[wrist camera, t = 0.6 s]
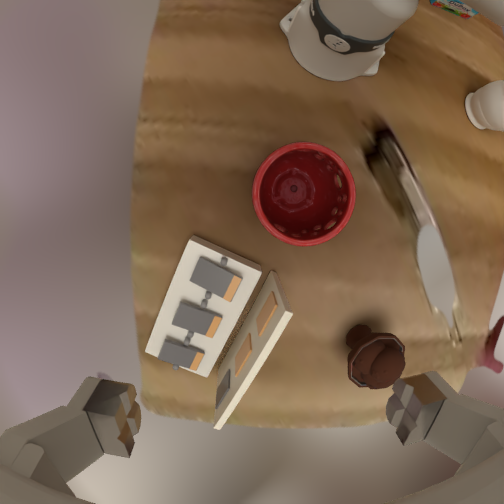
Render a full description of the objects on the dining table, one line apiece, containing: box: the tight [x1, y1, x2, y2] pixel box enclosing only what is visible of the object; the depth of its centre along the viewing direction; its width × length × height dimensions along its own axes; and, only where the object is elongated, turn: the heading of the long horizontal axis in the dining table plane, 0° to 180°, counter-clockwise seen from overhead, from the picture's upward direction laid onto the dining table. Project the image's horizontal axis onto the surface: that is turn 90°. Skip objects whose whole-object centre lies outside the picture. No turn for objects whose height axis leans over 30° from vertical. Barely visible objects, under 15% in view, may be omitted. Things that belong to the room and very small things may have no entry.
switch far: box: [158, 339, 205, 371], centre depth 46 cm, size 4×7×1 cm, turn 64°
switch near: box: [189, 257, 243, 302], centre depth 44 cm, size 4×7×1 cm, turn 64°
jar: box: [465, 80, 504, 131], centre depth 36 cm, size 11×10×15 cm
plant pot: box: [252, 142, 356, 246], centre depth 41 cm, size 13×13×12 cm
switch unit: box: [145, 235, 293, 430], centre depth 43 cm, size 22×15×16 cm
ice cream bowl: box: [346, 325, 405, 389], centre depth 46 cm, size 11×11×15 cm
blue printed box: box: [430, 0, 478, 19], centre depth 34 cm, size 12×2×6 cm, turn 94°
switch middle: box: [172, 301, 222, 338], centre depth 45 cm, size 4×7×1 cm, turn 64°
